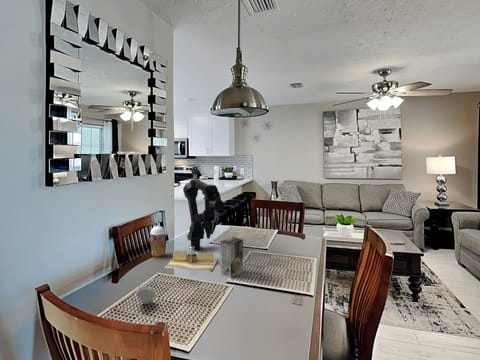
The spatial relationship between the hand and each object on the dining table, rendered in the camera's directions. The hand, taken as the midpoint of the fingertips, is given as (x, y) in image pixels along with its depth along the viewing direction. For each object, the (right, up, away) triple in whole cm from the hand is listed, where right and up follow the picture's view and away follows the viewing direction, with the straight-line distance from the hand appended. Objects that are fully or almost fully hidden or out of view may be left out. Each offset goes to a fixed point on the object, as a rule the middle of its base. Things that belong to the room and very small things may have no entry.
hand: (210, 236), depth 158 cm
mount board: (-8, -13, -9) cm, 18 cm away
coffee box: (+13, -14, -21) cm, 28 cm away
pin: (-9, -12, -6) cm, 16 cm away
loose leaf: (-2, -12, -7) cm, 14 cm away
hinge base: (-13, -12, -6) cm, 18 cm away
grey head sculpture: (-19, -16, -50) cm, 56 cm away
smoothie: (-29, -12, +2) cm, 32 cm away
